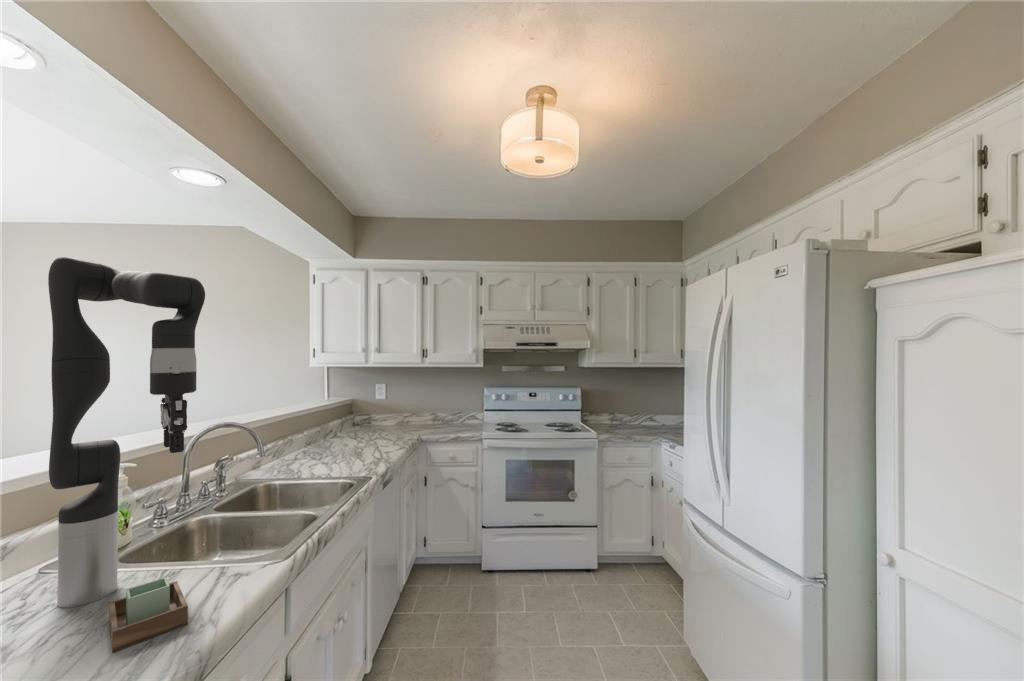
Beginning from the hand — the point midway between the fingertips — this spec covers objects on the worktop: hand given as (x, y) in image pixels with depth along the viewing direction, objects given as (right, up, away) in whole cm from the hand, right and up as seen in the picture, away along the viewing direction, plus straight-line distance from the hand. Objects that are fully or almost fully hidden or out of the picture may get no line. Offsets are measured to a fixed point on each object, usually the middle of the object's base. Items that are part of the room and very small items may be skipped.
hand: (173, 449), depth 87 cm
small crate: (-1, -31, -6) cm, 32 cm away
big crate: (0, -32, -6) cm, 32 cm away
